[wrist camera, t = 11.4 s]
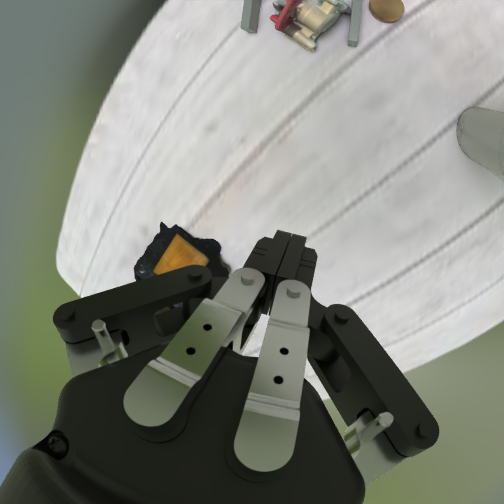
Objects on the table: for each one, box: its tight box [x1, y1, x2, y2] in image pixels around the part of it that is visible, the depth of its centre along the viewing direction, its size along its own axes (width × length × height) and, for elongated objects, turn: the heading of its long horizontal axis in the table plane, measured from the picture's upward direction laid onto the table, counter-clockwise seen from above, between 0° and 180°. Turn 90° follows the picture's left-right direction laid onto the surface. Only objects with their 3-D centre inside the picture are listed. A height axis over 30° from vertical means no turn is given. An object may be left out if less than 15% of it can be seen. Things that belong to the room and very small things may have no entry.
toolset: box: [134, 222, 229, 315], centre depth 64 cm, size 40×20×27 cm
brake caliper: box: [270, 0, 352, 52], centre depth 26 cm, size 11×11×12 cm
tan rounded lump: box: [369, 0, 404, 23], centre depth 23 cm, size 5×5×3 cm
